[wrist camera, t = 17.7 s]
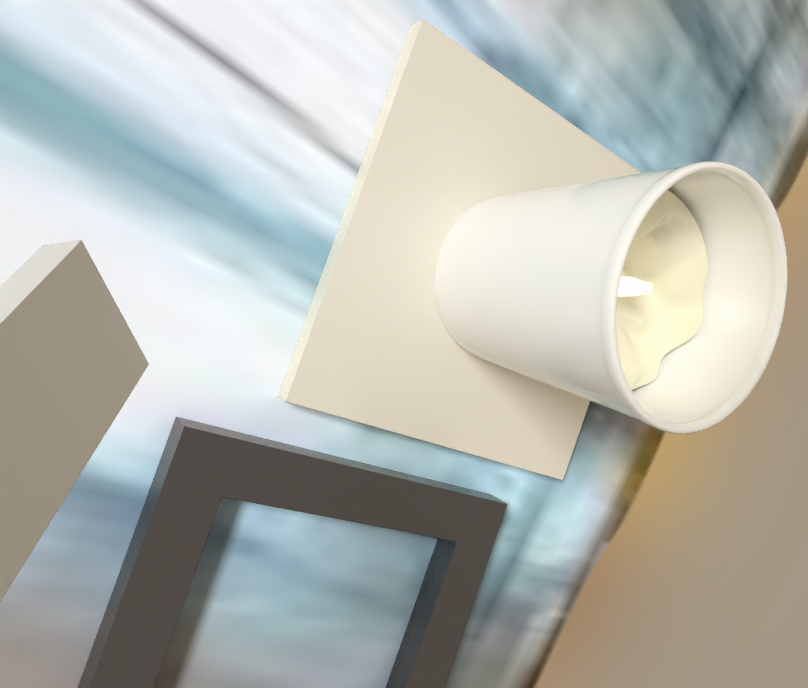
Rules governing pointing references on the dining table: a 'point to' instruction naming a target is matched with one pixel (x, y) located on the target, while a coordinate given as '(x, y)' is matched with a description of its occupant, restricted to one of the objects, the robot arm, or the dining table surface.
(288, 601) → the dining table surface
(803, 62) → the dining table surface
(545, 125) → the cream tile
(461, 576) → the dark grey square frame
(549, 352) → the candle holder
